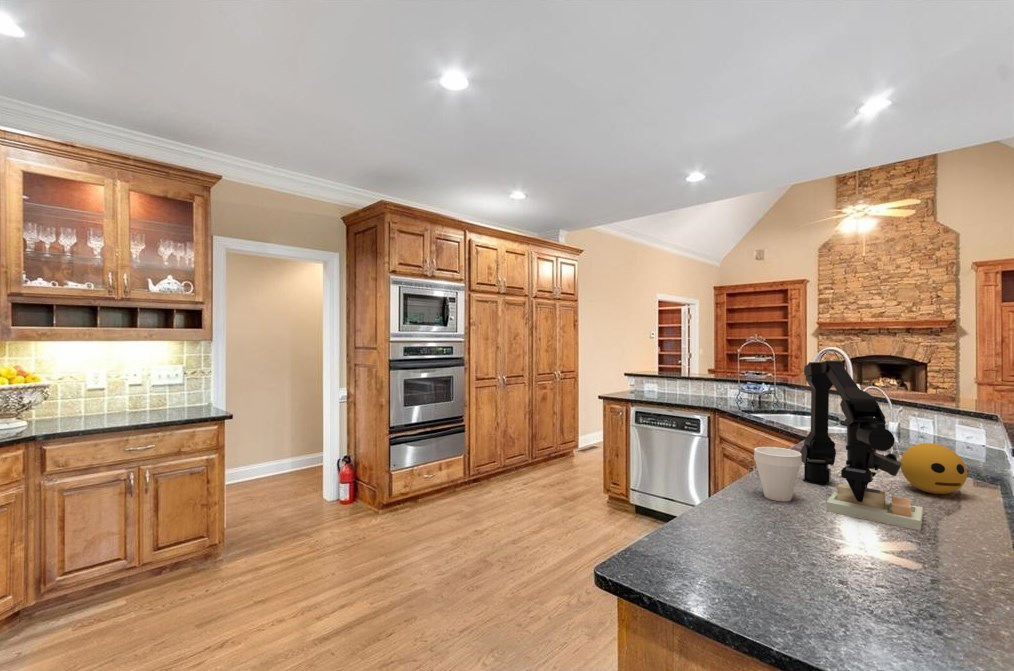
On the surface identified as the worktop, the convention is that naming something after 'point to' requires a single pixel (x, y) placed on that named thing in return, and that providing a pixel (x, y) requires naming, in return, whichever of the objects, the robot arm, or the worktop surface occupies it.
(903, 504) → the orange rectangular block
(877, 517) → the jig
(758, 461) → the cup
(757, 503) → the worktop surface
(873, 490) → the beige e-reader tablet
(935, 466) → the toy
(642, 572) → the worktop surface
